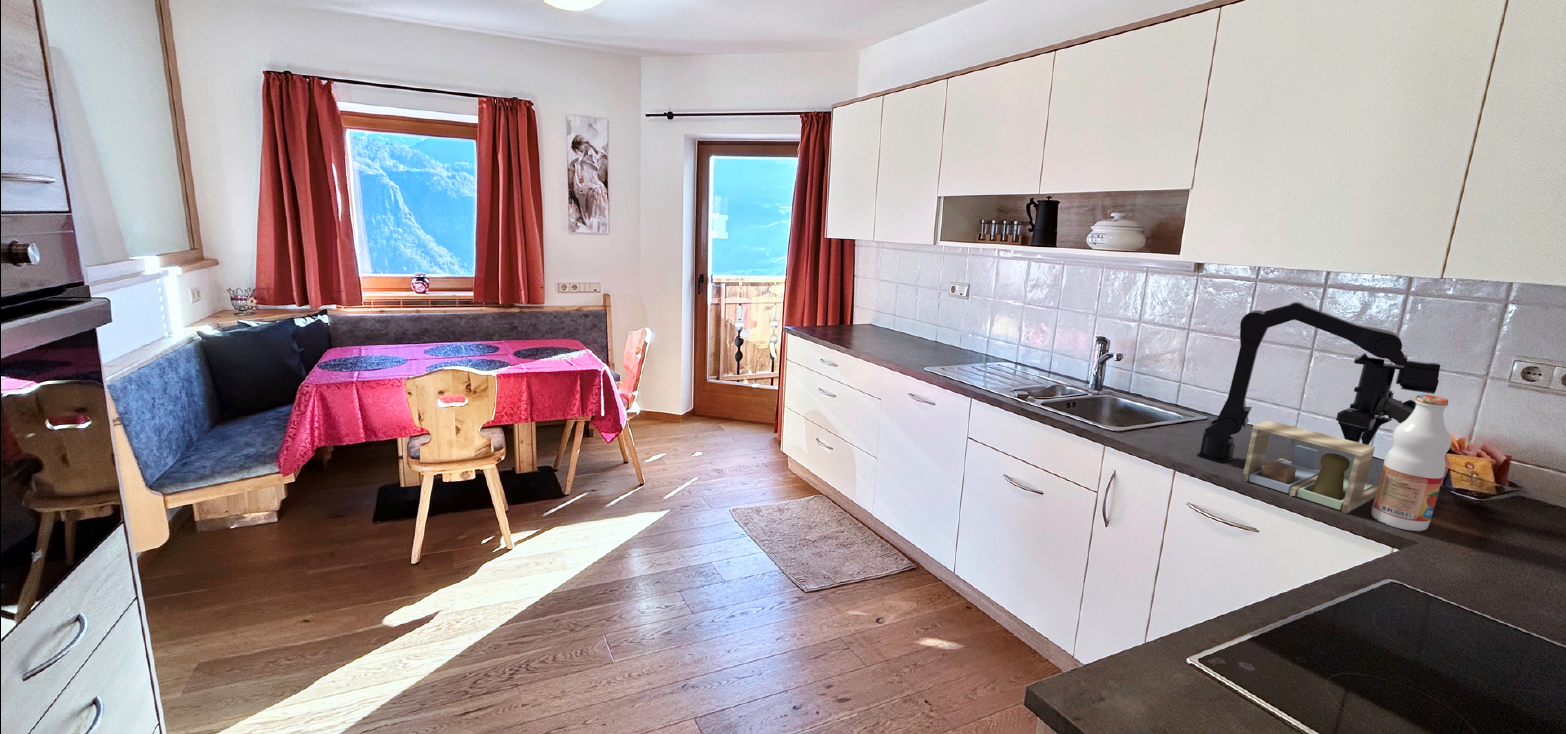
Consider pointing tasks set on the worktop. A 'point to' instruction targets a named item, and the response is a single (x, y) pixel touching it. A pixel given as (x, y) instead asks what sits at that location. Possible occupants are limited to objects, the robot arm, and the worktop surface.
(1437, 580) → the worktop surface
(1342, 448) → the board
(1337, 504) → the pale green tray
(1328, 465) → the olive rounded upright piece
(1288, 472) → the walnut cube
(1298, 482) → the blue-grey tray
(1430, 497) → the fruit juice
